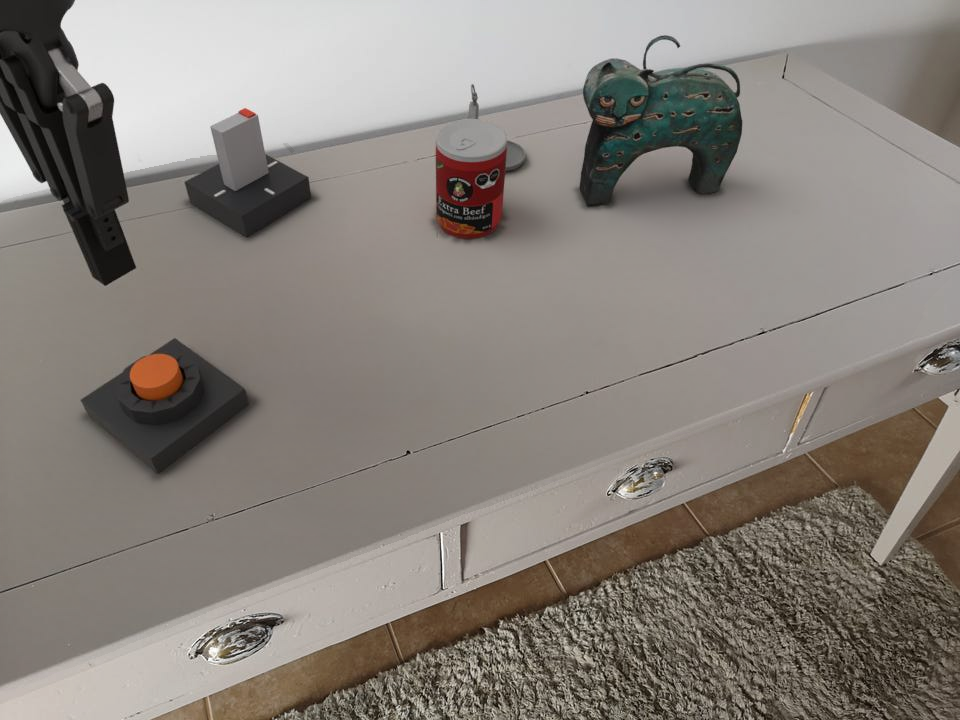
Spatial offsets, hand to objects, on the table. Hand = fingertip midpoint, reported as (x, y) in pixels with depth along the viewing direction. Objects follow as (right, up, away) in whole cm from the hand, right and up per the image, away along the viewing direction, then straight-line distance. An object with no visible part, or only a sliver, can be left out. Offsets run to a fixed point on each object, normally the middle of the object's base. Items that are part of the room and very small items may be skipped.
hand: (114, 272), depth 59 cm
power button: (0, -9, +9) cm, 13 cm away
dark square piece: (-1, -11, +12) cm, 16 cm away
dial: (0, +14, +32) cm, 35 cm away
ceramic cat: (+48, +14, +39) cm, 63 cm away
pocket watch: (+29, +19, +42) cm, 55 cm away
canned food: (+26, +10, +33) cm, 43 cm away
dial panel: (0, +12, +34) cm, 36 cm away
